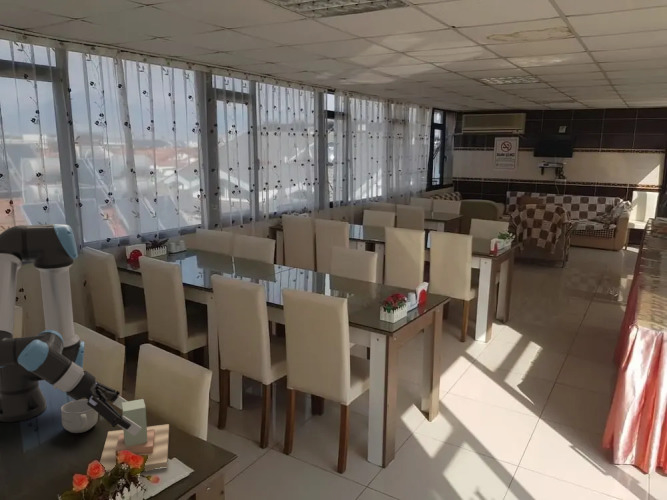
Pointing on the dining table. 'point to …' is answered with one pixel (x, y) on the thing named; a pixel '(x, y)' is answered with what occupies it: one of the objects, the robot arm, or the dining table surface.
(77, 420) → the teacup
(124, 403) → the pillar block
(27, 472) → the dining table surface
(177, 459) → the dining table surface
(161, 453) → the stand
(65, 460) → the dining table surface
